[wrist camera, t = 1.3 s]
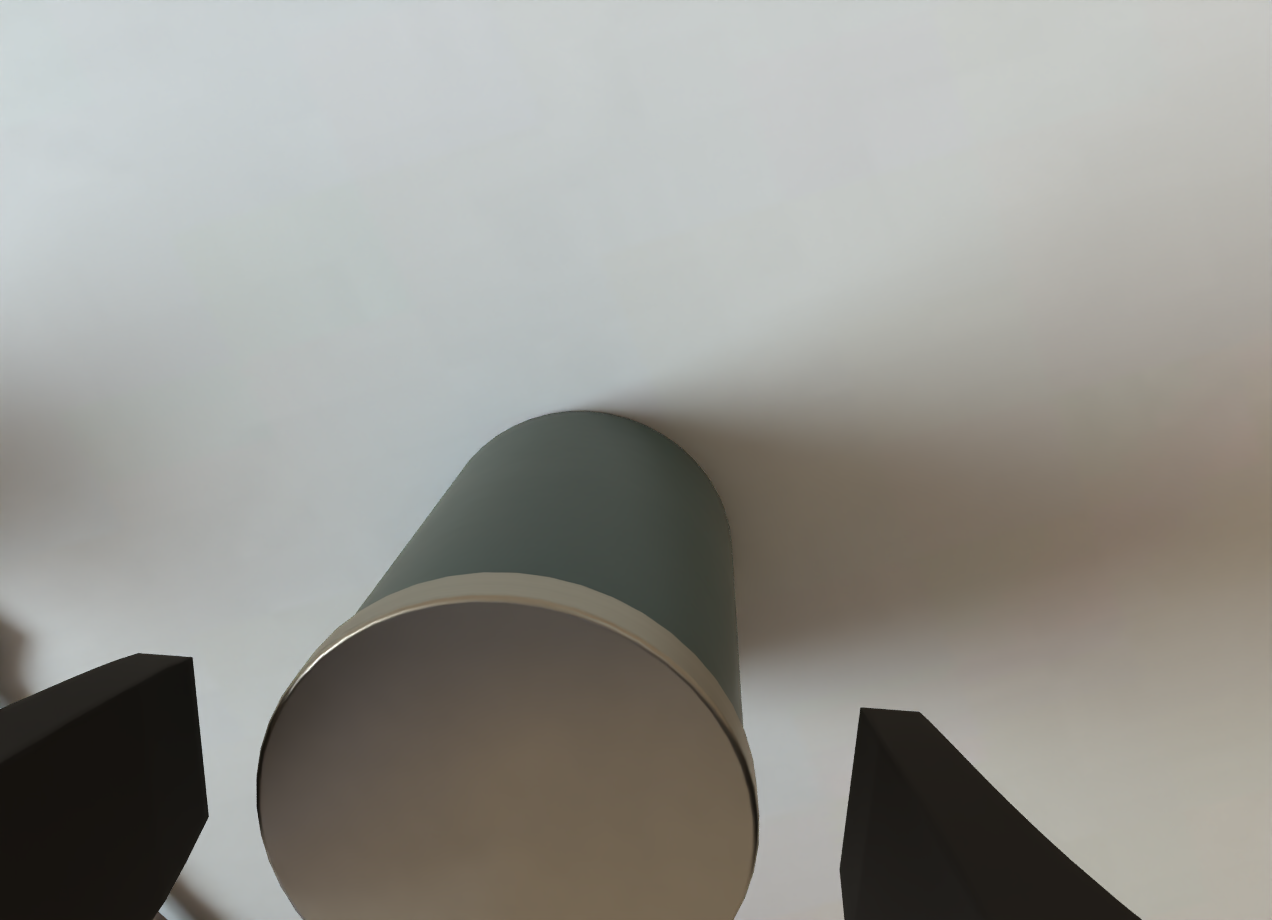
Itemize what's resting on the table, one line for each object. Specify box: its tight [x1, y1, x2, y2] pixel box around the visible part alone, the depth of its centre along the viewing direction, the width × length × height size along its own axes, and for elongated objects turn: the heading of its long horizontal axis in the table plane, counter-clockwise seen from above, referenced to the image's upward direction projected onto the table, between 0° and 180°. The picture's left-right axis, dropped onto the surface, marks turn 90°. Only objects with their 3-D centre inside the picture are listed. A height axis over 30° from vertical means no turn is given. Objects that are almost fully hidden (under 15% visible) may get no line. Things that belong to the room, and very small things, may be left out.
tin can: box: [257, 411, 759, 920], centre depth 13 cm, size 5×5×7 cm
